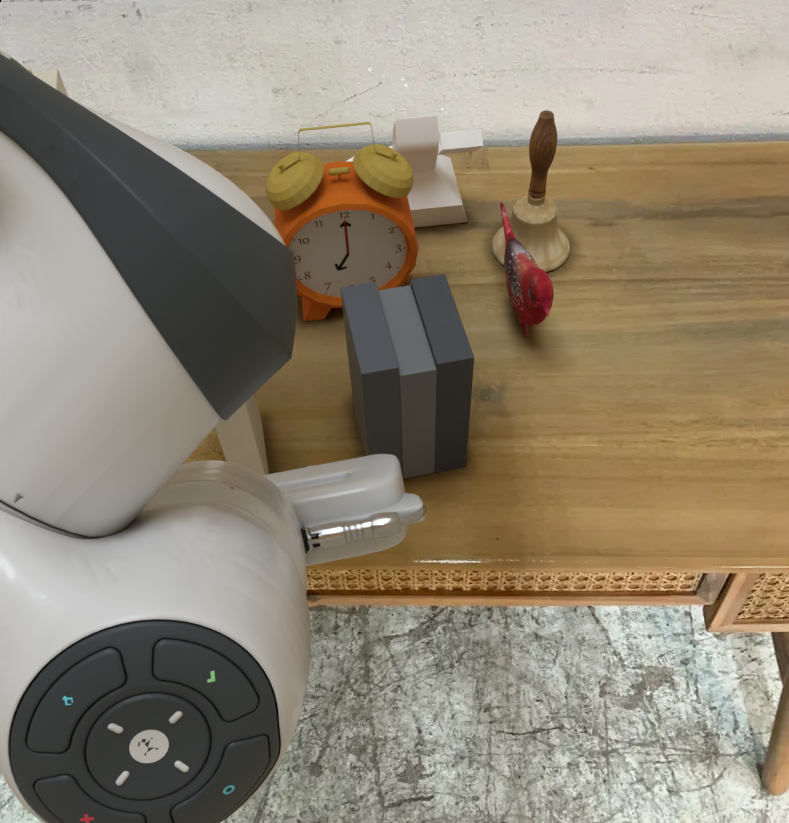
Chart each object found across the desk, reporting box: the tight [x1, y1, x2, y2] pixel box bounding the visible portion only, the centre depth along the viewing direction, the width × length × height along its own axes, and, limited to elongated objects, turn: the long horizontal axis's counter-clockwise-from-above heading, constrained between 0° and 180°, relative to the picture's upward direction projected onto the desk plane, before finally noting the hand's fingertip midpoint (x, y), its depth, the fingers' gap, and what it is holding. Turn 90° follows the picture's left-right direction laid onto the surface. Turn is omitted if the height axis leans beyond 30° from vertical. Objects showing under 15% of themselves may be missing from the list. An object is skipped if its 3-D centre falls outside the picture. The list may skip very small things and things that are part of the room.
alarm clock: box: [265, 121, 419, 322], centre depth 77 cm, size 13×6×20 cm, turn 97°
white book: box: [214, 393, 270, 475], centre depth 68 cm, size 3×9×14 cm, turn 12°
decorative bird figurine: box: [499, 201, 554, 340], centre depth 80 cm, size 3×18×10 cm, turn 9°
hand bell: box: [491, 110, 571, 273], centre depth 83 cm, size 8×8×16 cm
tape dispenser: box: [346, 115, 484, 228], centre depth 88 cm, size 8×14×14 cm, turn 97°
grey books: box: [341, 273, 475, 480], centre depth 69 cm, size 8×9×15 cm
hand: (229, 494), depth 51 cm, fingers open, 8 cm apart
